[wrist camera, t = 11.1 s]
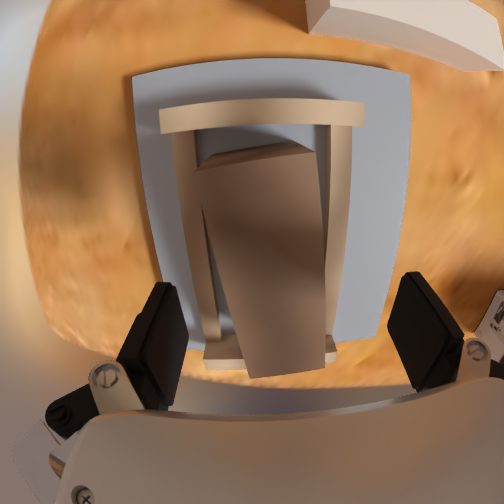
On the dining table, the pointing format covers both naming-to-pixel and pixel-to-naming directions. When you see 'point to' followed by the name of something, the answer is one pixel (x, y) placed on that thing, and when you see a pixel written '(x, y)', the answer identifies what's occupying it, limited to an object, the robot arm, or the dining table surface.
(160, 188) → the jig board
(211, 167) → the brown rectangular block
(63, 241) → the dining table surface
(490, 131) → the dining table surface
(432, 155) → the dining table surface
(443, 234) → the dining table surface
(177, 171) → the cradle
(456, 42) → the plank
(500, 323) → the light bulb box
